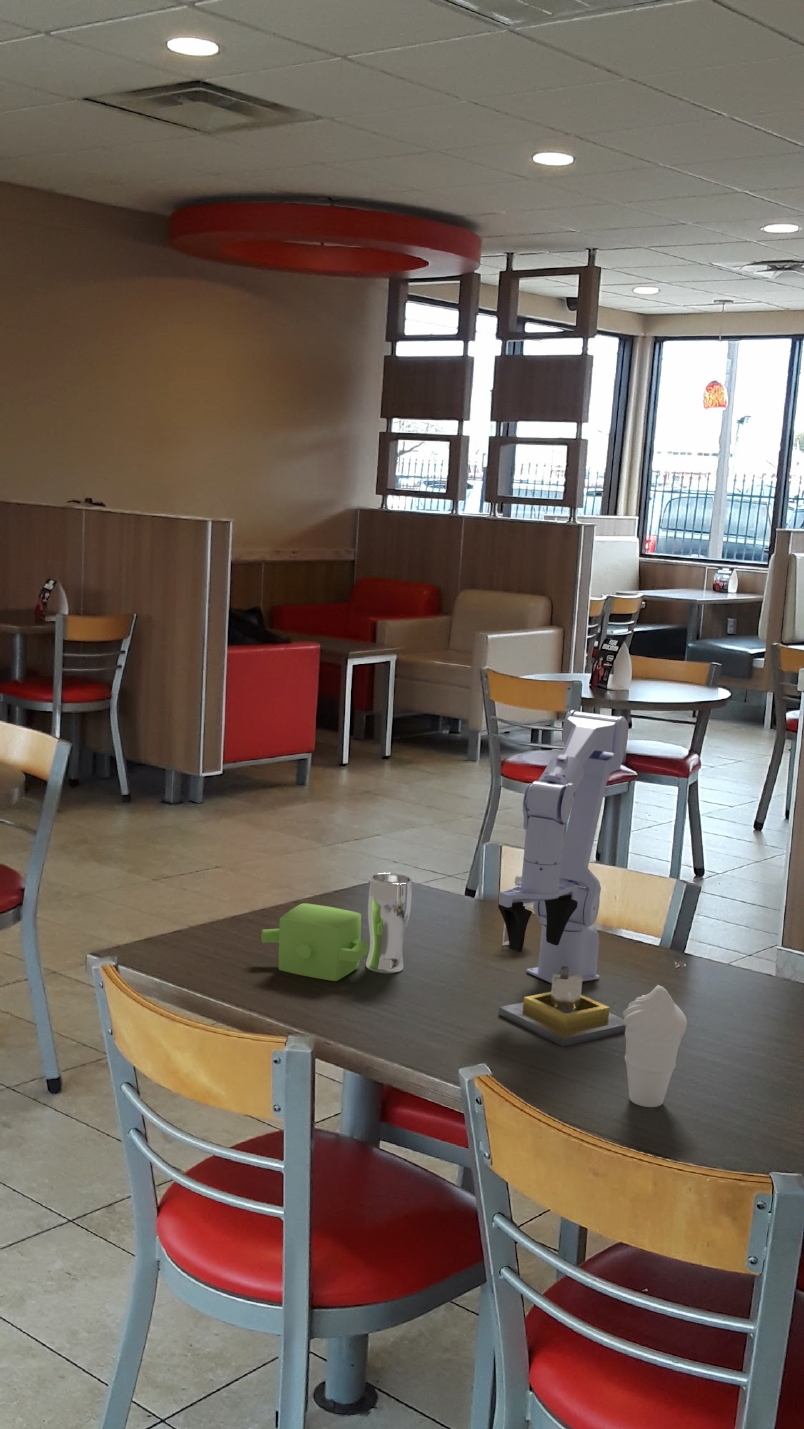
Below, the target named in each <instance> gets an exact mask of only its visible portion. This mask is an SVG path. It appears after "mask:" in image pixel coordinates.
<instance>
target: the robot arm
mask: <svg viewBox="0 0 804 1429" xmlns="http://www.w3.org/2000/svg"><path fill="white" fill-rule="evenodd" d="M561 733H562V741H563V745H564V747H563V748H562V752H561V754H558V755H555V756H553V757H552V758H551V759H550V761H549V762H548V764H546V768H545V769H544V771H543V772H542V773H541V775H540V777H539V778H538V780H534V781H533V782H532V783H528V784H527V786H526V788H525V791H524V793H523V798H522V814H523V825H522V826H523V829H524V830H525V839H524V850H523V860H522V861H523V862H522V870H521V871H522V872H521V875H522V881H521V882H519V883H518V886H514V887H511V888H510V889H506V890H503V891H499V894H498V895H499V897H498V903H497V904H498V905H497V906H498V907H497V908H498V910H499V912H500V914H501V916H502V918H503V923H504V922H505V925H506V932H507V938H508V940H509V945H508V946H509V949H510V950H513V951H515V952H518V953H520V952H523V948H524V943H525V938H526V929H527V927H528V924H529V920H530V918H531V916H532V914H533V913H534V914H535V916H536V918H538V919H539V920H538V921H539V922H538V923H539V924H541V933H540V945H539V953H538V954H539V955H538V965H537V966H536V967H531V968H527V969H526V973H528V974H529V975H532V976H535V977H536V978H539V979H541V980H543V981H546V982H547V983H550V984H552V980H553V973H555V972H559V971H561V967H562V966H565V967H569V972H573V973H577V974H579V975H581V976H582V977H583V979H582V983H583V982H589V981H593V980H598V979H600V975H599V974H597V966H598V957H599V949H600V948H599V946H600V936H599V933H598V930H597V927H595V925H594V924H595V923H596V921H597V918H598V915H599V909H600V900H601V898H600V896H601V891H602V887H601V882H600V881H599V879H598V878H597V876H595V874H594V873H593V872H592V871H591V870H590V869H589V865H590V860H591V855H592V851H593V847H594V846H593V845H594V843H595V842H594V841H595V836H596V831H597V827H598V823H599V818H600V815H601V814H600V813H601V810H602V805H603V799H604V795H605V792H606V791H605V790H606V786H607V783H608V780H609V778H610V775H611V773H614V772H616V771H618V770H621V767H622V763H623V761H624V757H625V753H626V748H627V743H628V737H629V736H628V735H629V723H628V721H627V719H626V718H625V716H622V715H620V716H618V715H617V716H615V715H610V714H609V715H607V714H600V713H592V712H591V713H590V712H585V711H584V712H583V711H577V710H576V709H571V710H570V711H569V712H568V713H567V714H566V715H565V717H564V720H563V726H562V732H561ZM567 821H568V822H567ZM566 823H568V824H567V828H566V832H565V827H566V826H565V824H566ZM564 834H565V835H564ZM564 836H565V837H564ZM530 902H533V904H532V908H533V910H529V909H528V910H527V909H525V906H523V903H530Z"/></svg>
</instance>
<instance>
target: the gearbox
mask: <svg viewBox="0 0 804 1429" xmlns="http://www.w3.org/2000/svg"><path fill="white" fill-rule="evenodd" d="M278 925H279V928H270V929H269V928H268V929H267V928H266V929H261V942H262V943H265V944H266V943H278V970H279V971H282V972H286V973H290V974H293V975H300V976H302V977H303V976H304V977H309V978H314V979H320V980H326V981H331V982H337V981H339V980H341V979H343V978H344V977H346V976H348V975H349V974H351V973H352V972H354V971H356V969H357V968H358V967H360V963H361V962H360V961H361V960H362V959H364V958H365V957H366V956H368V954H369V943H367V942H365V941H363V940H361V936H362V935H361V934H362V932H361V930H362V914H361V913H360V912H356V911H353V910H348V909H343V908H338V907H332V906H326V905H319V904H314V903H313V904H312V903H306V902H303V903H300V904H298V905H296V906H295V907H293V908H292V909H290V910H288V911H287V912H286V913H285V914H283V915H282V916H280V917H279V924H278Z"/></svg>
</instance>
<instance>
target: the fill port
mask: <svg viewBox="0 0 804 1429" xmlns="http://www.w3.org/2000/svg"><path fill="white" fill-rule="evenodd" d="M550 1001H551V991H549V992H543V993H539V994H538V993H537V994H534V995H533V994H532V995H529V996H524V997H523V1001H522V1002H518V1003H514V1004H508V1005H503V1006H498V1007H499V1010H498V1015H499V1016H500V1017H503V1018H505V1019H506V1020H509V1021H510V1022H512V1023H515V1024H517V1025H519V1026H520V1027H523V1028H525V1029H527V1030H528V1031H530V1032H532V1033H534V1034H537V1035H538V1036H541V1037H542V1038H545V1039H546V1040H548V1041H550V1042H553V1043H554V1044H556V1045H558V1046H560V1047H562V1048H564V1047H567V1046H572V1045H577V1044H581V1043H584V1042H590V1041H594V1040H598V1039H603V1038H606V1037H611V1036H615V1035H620V1034H625V1029H626V1026H625V1024H624V1023H623V1020H624V1018H622V1017H619V1016H618V1015H615V1014H614V1013H611V1012H610V1008H611V1007H610V1006H608V1005H606V1004H604V1003H601V1002H599V1001H596V1000H594V999H592V998H590V997H587V996H585V995H583V994H581V999H580V1009H579V1011H576V1012H571V1013H564V1012H561V1011H559V1010H557V1009H555V1008H553V1007H551V1006H550Z"/></svg>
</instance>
